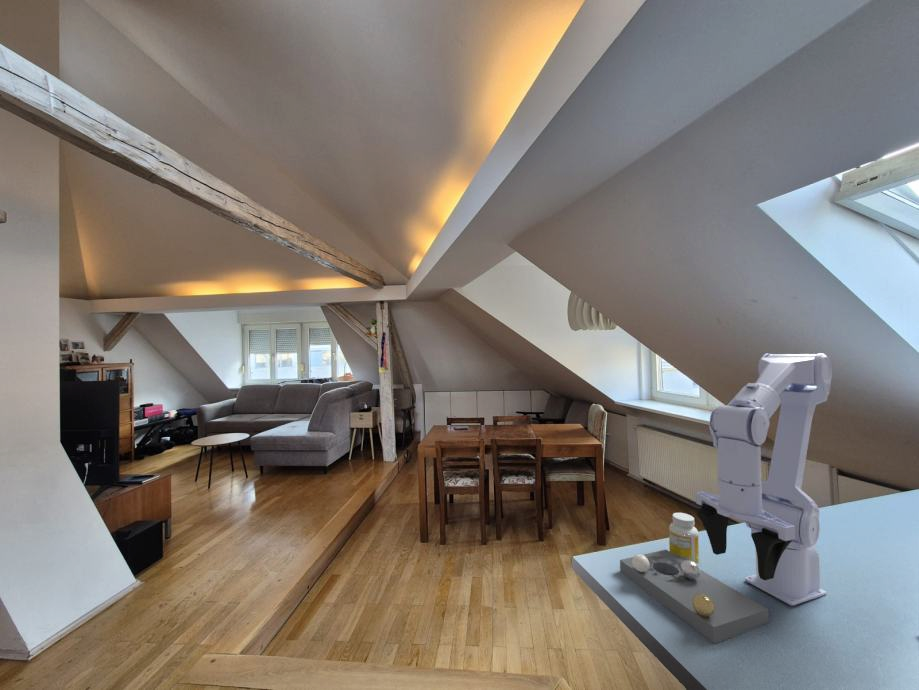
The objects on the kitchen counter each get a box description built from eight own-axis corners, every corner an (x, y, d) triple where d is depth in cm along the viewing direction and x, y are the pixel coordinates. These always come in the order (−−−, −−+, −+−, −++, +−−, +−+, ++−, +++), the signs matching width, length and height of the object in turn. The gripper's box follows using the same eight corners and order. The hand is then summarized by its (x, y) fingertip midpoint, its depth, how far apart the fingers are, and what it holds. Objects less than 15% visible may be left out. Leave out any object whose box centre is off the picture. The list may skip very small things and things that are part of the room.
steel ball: (699, 568, 72) (707, 577, 69) (684, 577, 72) (692, 587, 69) (688, 553, 72) (696, 561, 69) (673, 562, 72) (681, 570, 69)
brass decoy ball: (701, 606, 63) (701, 588, 63) (719, 618, 60) (719, 599, 60) (688, 611, 62) (687, 592, 62) (705, 623, 59) (704, 603, 59)
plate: (666, 561, 81) (665, 549, 81) (768, 624, 62) (768, 609, 62) (620, 572, 77) (619, 559, 77) (714, 643, 58) (713, 627, 58)
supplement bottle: (681, 570, 77) (680, 523, 78) (663, 556, 83) (662, 512, 83) (705, 568, 78) (704, 521, 78) (686, 554, 83) (685, 510, 84)
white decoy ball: (641, 565, 75) (640, 549, 75) (653, 573, 72) (653, 557, 72) (628, 568, 74) (628, 552, 74) (640, 576, 71) (640, 560, 71)
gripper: (682, 469, 68) (683, 547, 67) (769, 499, 54) (772, 596, 54) (712, 465, 70) (714, 540, 70) (803, 493, 56) (806, 587, 56)
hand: (741, 564), depth 62 cm, fingers open, 7 cm apart
